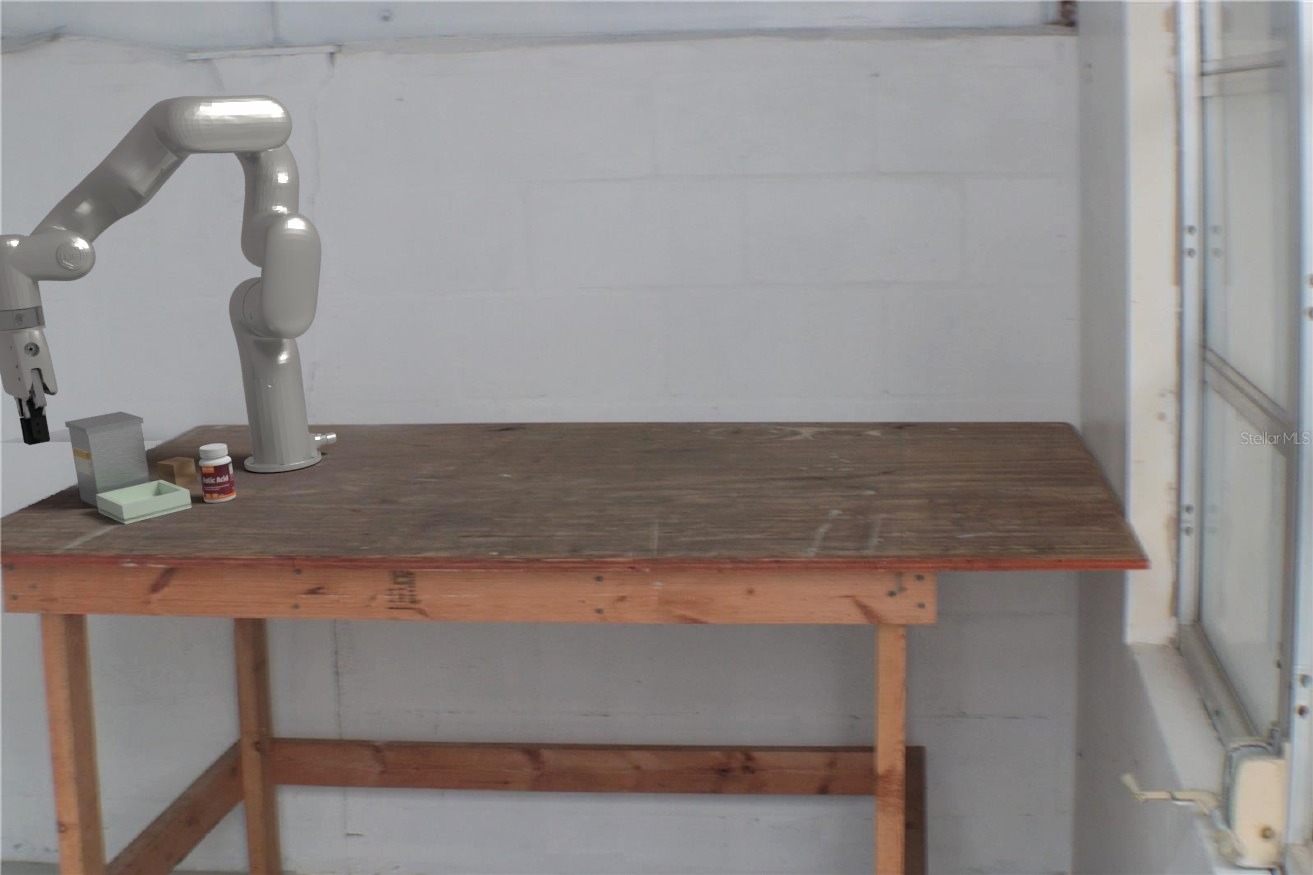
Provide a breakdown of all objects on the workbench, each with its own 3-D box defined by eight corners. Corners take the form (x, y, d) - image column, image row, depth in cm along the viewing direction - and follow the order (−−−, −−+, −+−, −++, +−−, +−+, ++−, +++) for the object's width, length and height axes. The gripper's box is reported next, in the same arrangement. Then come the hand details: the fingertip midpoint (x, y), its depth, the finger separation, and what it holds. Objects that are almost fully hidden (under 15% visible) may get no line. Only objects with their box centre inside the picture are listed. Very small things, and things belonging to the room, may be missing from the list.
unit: (134, 487, 197) (122, 411, 194) (156, 495, 191) (144, 417, 188) (77, 500, 191) (64, 422, 188) (98, 509, 185) (85, 429, 182)
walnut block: (180, 480, 200) (177, 456, 199) (197, 482, 198) (193, 458, 197) (160, 486, 197) (156, 462, 196) (176, 488, 195) (173, 464, 194)
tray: (163, 496, 190) (161, 479, 189) (191, 507, 183) (189, 489, 182) (98, 512, 183) (95, 494, 182) (125, 524, 176) (122, 505, 175)
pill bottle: (202, 505, 184) (195, 451, 182) (205, 497, 188) (197, 444, 186) (235, 501, 185) (228, 447, 183) (237, 493, 190) (230, 441, 188)
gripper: (61, 320, 174) (81, 444, 179) (25, 314, 185) (46, 431, 189) (4, 327, 169) (27, 454, 173) (-29, 320, 180) (-6, 441, 184)
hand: (37, 442), depth 181 cm, fingers closed
